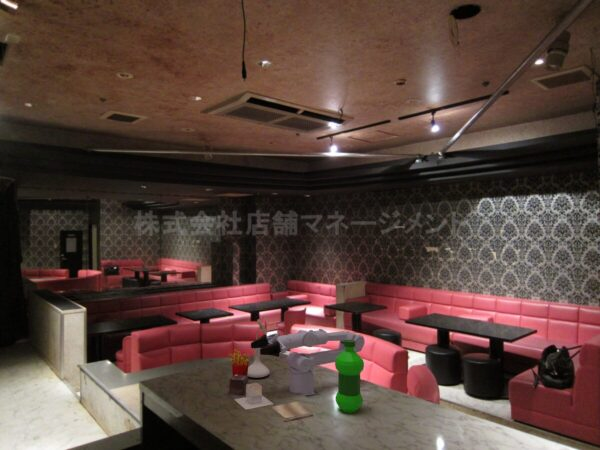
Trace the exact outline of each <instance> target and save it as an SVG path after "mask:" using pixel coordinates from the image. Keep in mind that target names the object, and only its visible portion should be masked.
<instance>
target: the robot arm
mask: <svg viewBox="0 0 600 450" xmlns="http://www.w3.org/2000/svg"><path fill="white" fill-rule="evenodd" d="M344 340H355V341H356V344H355V347H354V351H355V352H356V353H359V352H361V351H363V348H364V347H365V346H364V345H365V341H366V340H365V338H364V336H363V335H361V334H357V333H354V332H351V331H348V330H347V331H345V330H342V331H341V330H340V331H334V332H333V331H332V332H327V331H326V330H324V329H322V328H318V330H313V329H309V331H308V330H302V329H300V330H299V331H297V332H296V333H295V332H294V333H289V334H284V335H278V334H277V333H274V335H273V336H268V335H267V334H265V333H263V334H262V335H261V337H259V338H258V339H257V340H253V341H251V342H250V348H251V349H254V348H261V349H260V356H261V355H263V356H273V357H277V358H279V357H280V353H281V354H287V350H292V349H297V348H301V347H307V348H312V347H314V346H320V345H326V344H328V342H339V343H338V346H337V348H333V349H329V350H323V351H316V352H311V353H306V352H300V353H299V352H296V351H292V352H290V353H289V354H288V355H287V358H286V364H287V366H288V367H289V391H290V392H291V393H294V394H301V395H303V396H305V397H307V396H311V395H315V394H316V392H315V376H314V372H313V371H312V370H314V369H315V367H317V366H321V365H322V366H323V365H325V364H332V363H335V360H336V357H338V356H339V355H340V354H341V353H342V352H343V351H345V346H344Z"/></svg>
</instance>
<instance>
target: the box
mask: <svg viewBox="0 0 600 450" xmlns="http://www.w3.org/2000/svg"><path fill="white" fill-rule="evenodd" d="M246 384H249V376H247V375H234V376H233V375H232V376H231V377H230V378H229V395H233V396H245V395H246Z"/></svg>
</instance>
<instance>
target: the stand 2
mask: <svg viewBox="0 0 600 450" xmlns="http://www.w3.org/2000/svg"><path fill="white" fill-rule="evenodd" d="M271 408H272V409H273V410H274V411H275V412H277V413H278V414H279V415H281V416H282V417H283V418H285V419H286V420H283V422H284V423H286V424H287V423H291V422H294V421H298V420H299V421H300V420H302V419H303V420H304V419H308V418H310V417H311V418H312V417H314V414H311V413H313V411H312V410H311V409H310V408H308V407H306V406H305V405H304V404H302V403H301V402H299V401H292V402H288V403H283V404H279V405H274V406H271ZM306 414H308V415H306ZM298 416H300V417H298ZM292 417H295V418H292ZM288 418H291V419H288Z"/></svg>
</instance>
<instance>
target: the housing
mask: <svg viewBox="0 0 600 450" xmlns="http://www.w3.org/2000/svg"><path fill="white" fill-rule="evenodd" d="M262 393H263V386H262V385H261V384H260V383H258V382H253V383H248V384H246V393H245V397H246V401H247V402H248V403H249V404H250V405H252V404H257V403H262V396H263V394H262Z"/></svg>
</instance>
